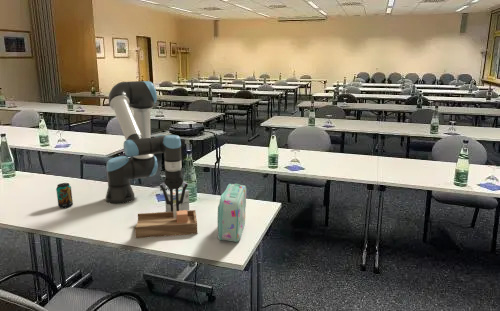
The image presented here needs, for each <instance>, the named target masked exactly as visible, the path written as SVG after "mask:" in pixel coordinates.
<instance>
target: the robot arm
mask: <svg viewBox="0 0 500 311" xmlns="http://www.w3.org/2000/svg"><path fill="white" fill-rule="evenodd" d="M157 101H158V94H157V90H156V87H155V84H153V82H152V81H150V80H147V81H146V80H139V81H138V80H137V81H120V82H118V83H116V84H114V85H113V86H112V88H111V89H110V91H109V94H108V104H109V107H110V108H111V109H112V110H113V111H114V114H115V116H116V118H117V120H118V123H119V126H120V129H121V131H122V134H123V136H124V139H125V140H124V142H123V152H124V155H123V156H121V155H120V156H116V157H113V158H110V159H109V160H107V161H106V177H107V187H108V188H107V191H106V194H105V201H106V203H108V204H113V205H122V204H127V203H129V202H132V201H133V200H135V197H136V196H135V192H134V190H133V187H132V185H131V180H137V179H146V178H150V177H155V175H156V174H157V171H158V159H157V156H155V154H163V155H164V156H163V158H164V169H165V170H164V178H165V179H164V181H163V182H162V183H160V184H159V188H160V189H161V190H162V193H163V197H164V201H165V200H166V203H167V204H169V205H170V206H171V212H173V215H174V219H177V211H179V204H182V203H183V199H184V194H185V190H187V187H188V186H189V184H188V182H186V181H184V179H183V172H182V171H183V170H182V142H181V140H182V139H181V137H180V136H179V135H177V134H168V135H164V134H159V135H157V136H155V137H151V132H152V131H151V110H152V109H153V108H154V104H156V103H157ZM125 155H126V156H125ZM129 157H131V158H129ZM166 187H167V188H168V189H169V191H170V201H169V199H168V196H167V192H168V191H167V190H166ZM181 187H182V188H183V189H182V194H181V198H180V200H179V196H178V189H179V188H181ZM175 189H176V203H175V204H173V190H175Z"/></svg>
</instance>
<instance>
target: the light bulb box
mask: <svg viewBox="0 0 500 311" xmlns="http://www.w3.org/2000/svg"><path fill="white" fill-rule="evenodd" d="M182 189H183V187H179V188H178V196H179V200H180V198H181V194H182ZM166 192H167V196H168V199H169V201H170V190H168V191H166ZM164 203H165V212H171V206H170V205H169V204H167V203H166V200H165V199H164ZM175 203H176V189H173V204H175ZM181 210H187V211H189V210H190V192H189V189H186V190H185V194H184V199H183V203H182V204H179V211H181Z"/></svg>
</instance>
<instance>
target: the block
mask: <svg viewBox="0 0 500 311" xmlns="http://www.w3.org/2000/svg"><path fill="white" fill-rule="evenodd" d="M187 211H188V210H181V211H177V223H183V222H188V214H187Z"/></svg>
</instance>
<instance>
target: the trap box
mask: <svg viewBox="0 0 500 311" xmlns="http://www.w3.org/2000/svg"><path fill="white" fill-rule="evenodd" d="M196 212H197V211H196V210H195V209H191V210H190V209H189V210H187V214H188V222H183V223H177V219H174V215H173V212H166V211H160V212H145V213H137V223H136V226H135V227H134V236H135V237H134V238H135V239H146V238H159V237H161V238H162V237H169V236H171V237H172V236H174V237H175V236H187V235H197V234H198V220H197V214H196Z"/></svg>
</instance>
